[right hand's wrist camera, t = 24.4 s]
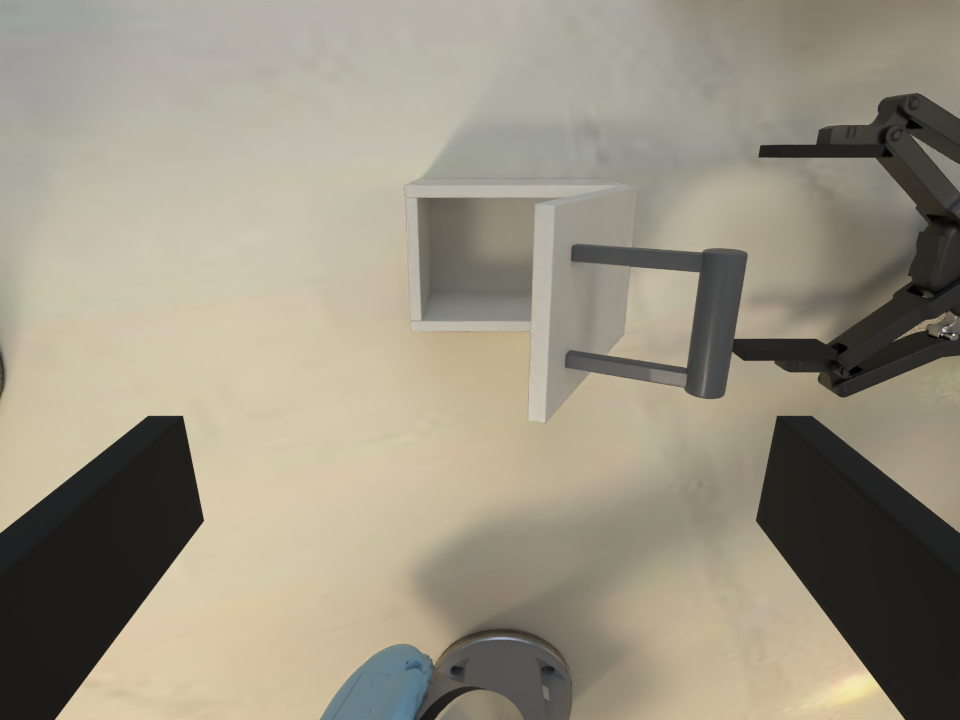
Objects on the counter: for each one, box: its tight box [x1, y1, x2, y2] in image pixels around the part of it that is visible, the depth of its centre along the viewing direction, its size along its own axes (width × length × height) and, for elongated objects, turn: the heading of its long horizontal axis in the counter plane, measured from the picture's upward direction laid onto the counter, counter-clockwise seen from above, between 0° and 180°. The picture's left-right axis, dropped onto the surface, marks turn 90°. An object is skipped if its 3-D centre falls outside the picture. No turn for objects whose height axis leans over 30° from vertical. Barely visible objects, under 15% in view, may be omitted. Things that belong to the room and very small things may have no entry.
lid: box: [528, 186, 748, 424], centre depth 28 cm, size 15×10×8 cm
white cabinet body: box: [405, 179, 629, 332], centre depth 41 cm, size 14×10×10 cm
